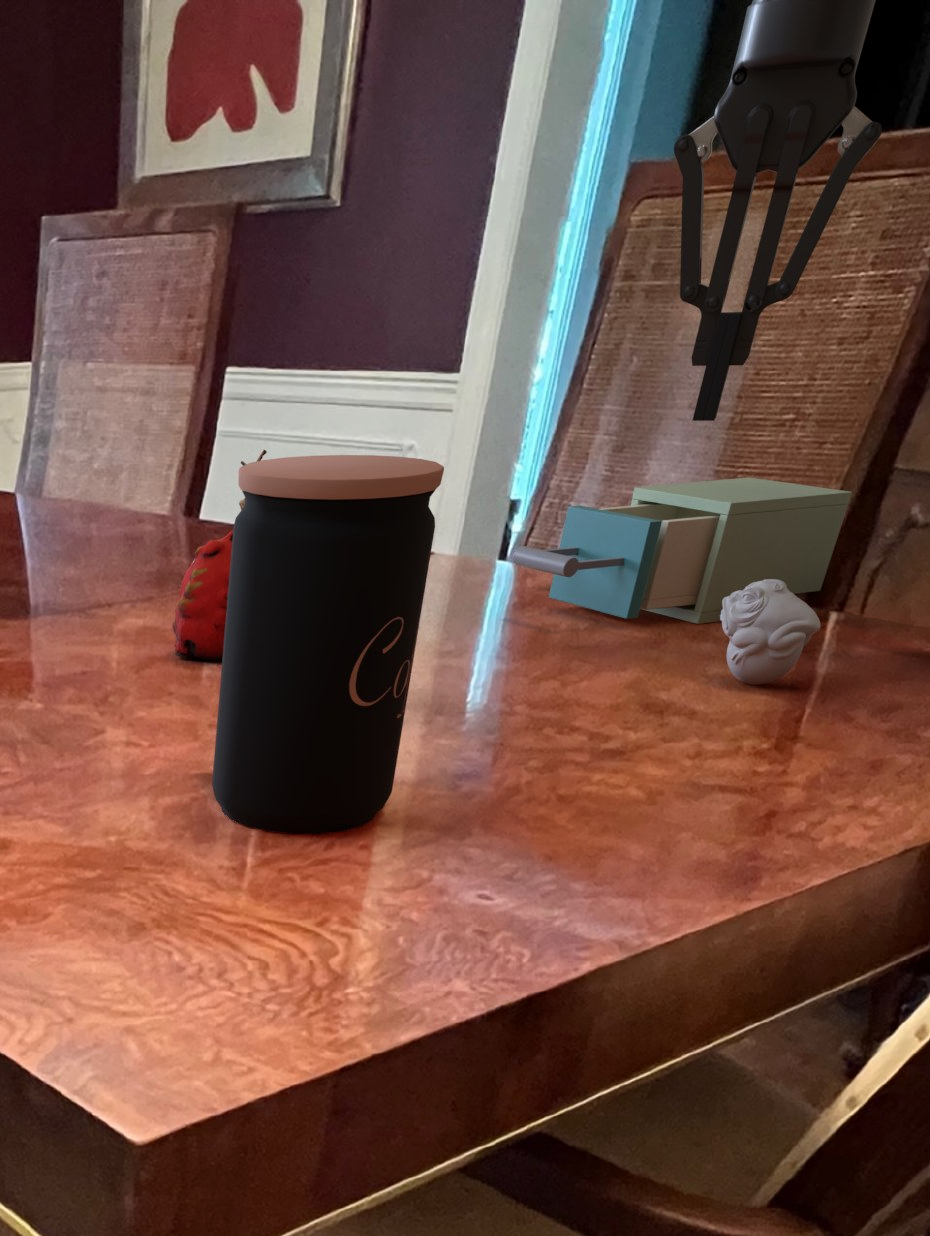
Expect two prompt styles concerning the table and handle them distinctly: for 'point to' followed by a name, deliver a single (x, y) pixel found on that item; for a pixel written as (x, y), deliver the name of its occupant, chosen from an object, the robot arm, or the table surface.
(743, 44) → the robot arm
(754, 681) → the frog figurine
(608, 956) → the table surface
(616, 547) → the drawer
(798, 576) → the cabinet
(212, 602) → the red clay folk toy
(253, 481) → the coffee jar
